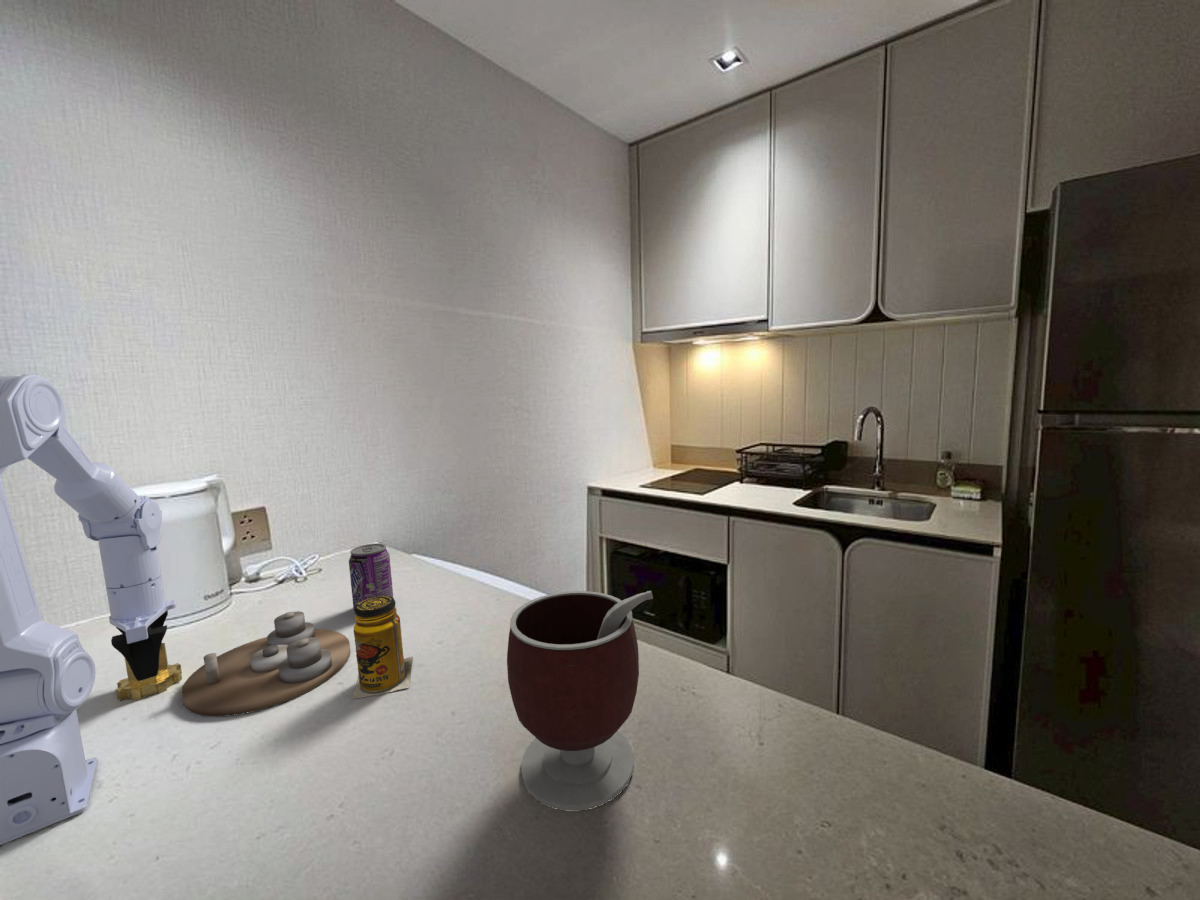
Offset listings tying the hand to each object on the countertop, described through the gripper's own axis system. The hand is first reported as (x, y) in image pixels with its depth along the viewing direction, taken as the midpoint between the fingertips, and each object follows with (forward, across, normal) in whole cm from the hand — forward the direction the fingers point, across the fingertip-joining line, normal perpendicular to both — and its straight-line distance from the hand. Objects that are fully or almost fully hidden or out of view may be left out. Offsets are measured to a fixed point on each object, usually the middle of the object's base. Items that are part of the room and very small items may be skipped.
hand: (148, 670), depth 71 cm
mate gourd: (+3, -55, -37) cm, 66 cm away
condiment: (+3, -22, -26) cm, 34 cm away
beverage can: (+3, +4, -32) cm, 32 cm away
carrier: (+2, -8, -14) cm, 16 cm away
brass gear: (+2, 0, 0) cm, 2 cm away
